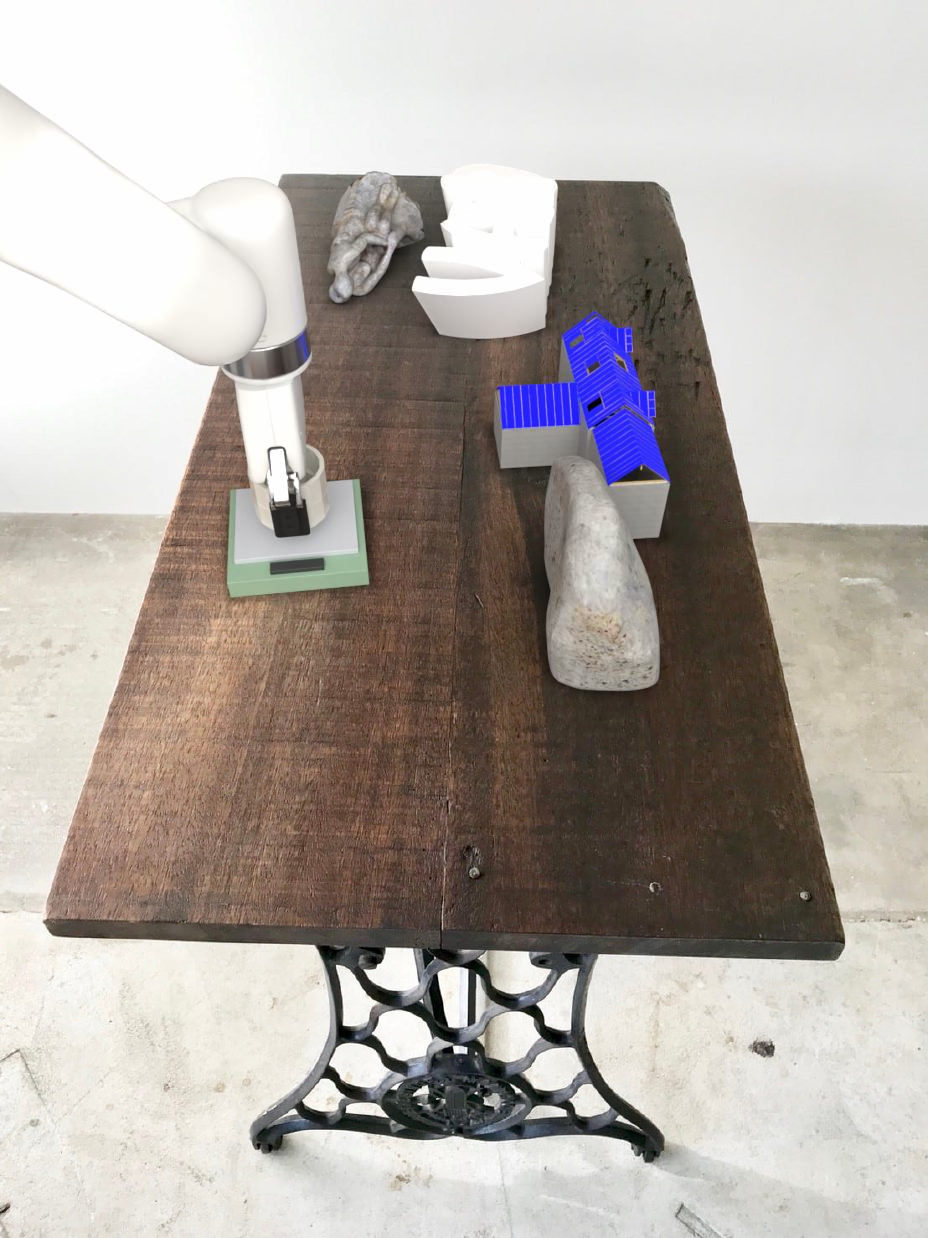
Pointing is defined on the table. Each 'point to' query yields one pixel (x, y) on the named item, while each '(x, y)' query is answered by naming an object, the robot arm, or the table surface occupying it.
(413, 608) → the table surface
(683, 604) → the table surface
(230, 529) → the scale
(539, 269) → the wavy white extrusion
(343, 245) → the sculpture
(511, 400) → the house model
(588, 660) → the decorative stone
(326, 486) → the white cup
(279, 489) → the robot arm
